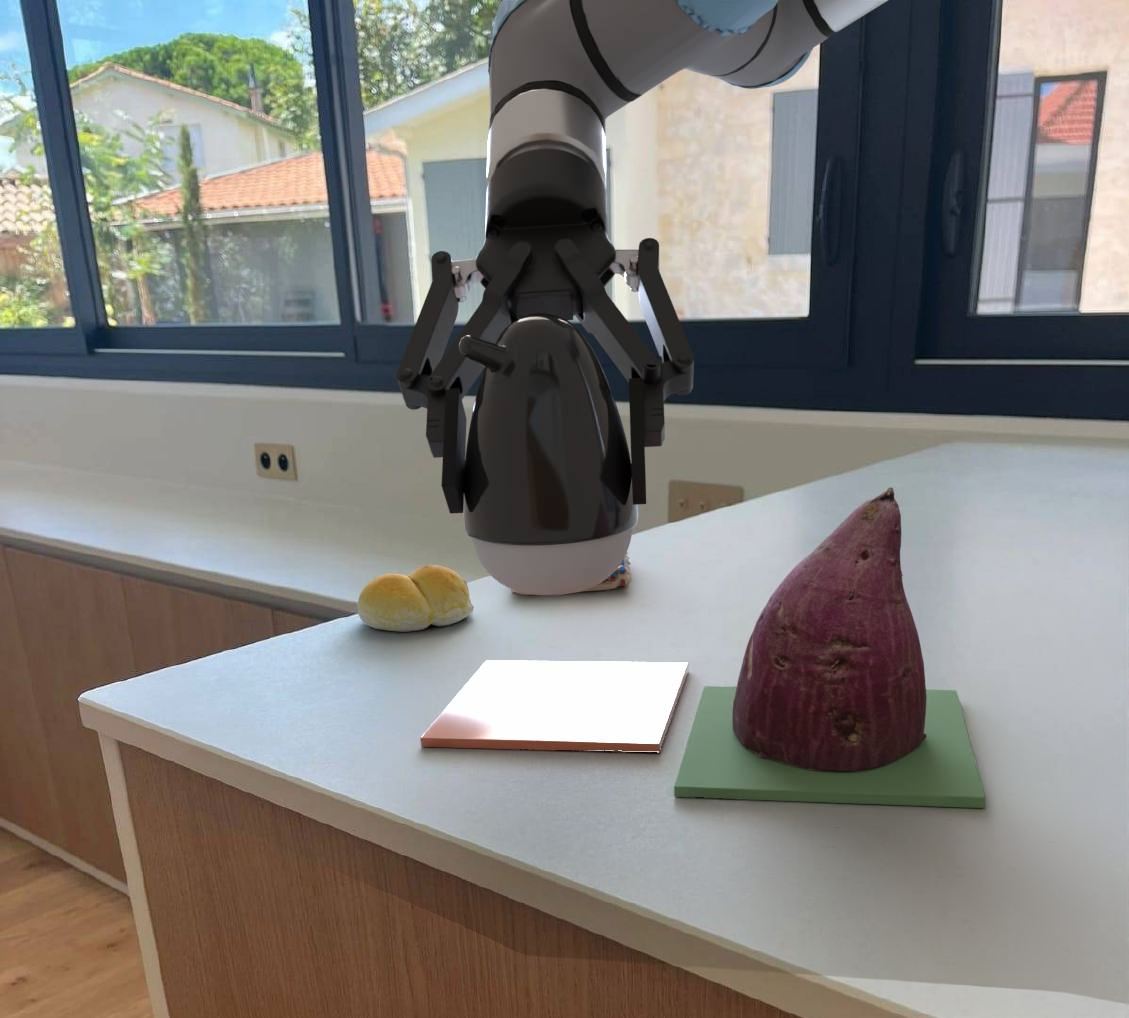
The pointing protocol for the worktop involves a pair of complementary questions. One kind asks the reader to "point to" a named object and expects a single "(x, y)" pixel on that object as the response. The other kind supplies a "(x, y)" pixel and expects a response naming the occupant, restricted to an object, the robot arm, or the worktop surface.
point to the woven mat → (611, 578)
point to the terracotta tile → (561, 706)
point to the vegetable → (837, 655)
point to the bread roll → (415, 600)
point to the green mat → (914, 779)
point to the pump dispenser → (546, 461)
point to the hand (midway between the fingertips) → (545, 495)
